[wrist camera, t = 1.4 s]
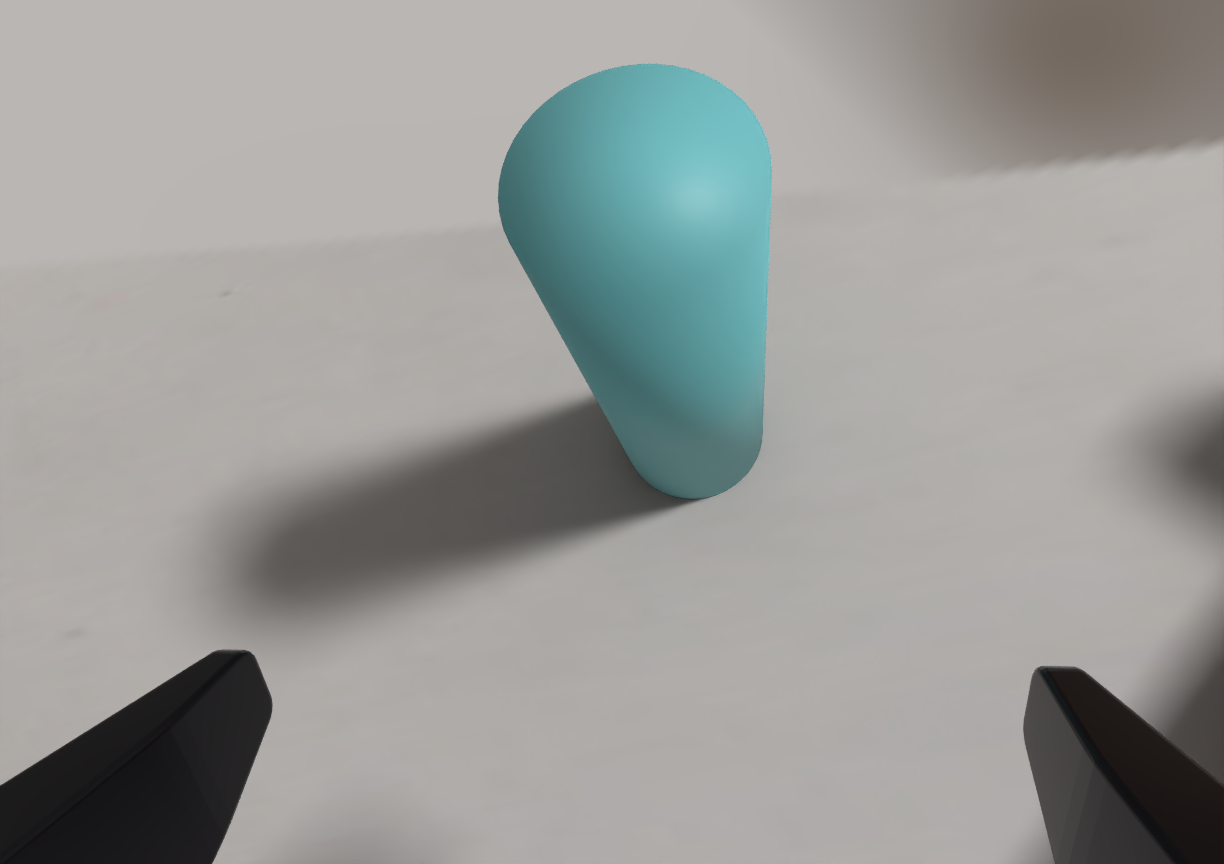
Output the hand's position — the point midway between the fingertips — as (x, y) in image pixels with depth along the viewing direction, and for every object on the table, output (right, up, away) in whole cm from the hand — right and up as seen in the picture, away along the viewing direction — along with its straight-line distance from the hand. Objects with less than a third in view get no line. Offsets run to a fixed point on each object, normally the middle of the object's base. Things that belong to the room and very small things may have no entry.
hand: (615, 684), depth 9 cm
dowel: (+2, +3, +14) cm, 15 cm away
